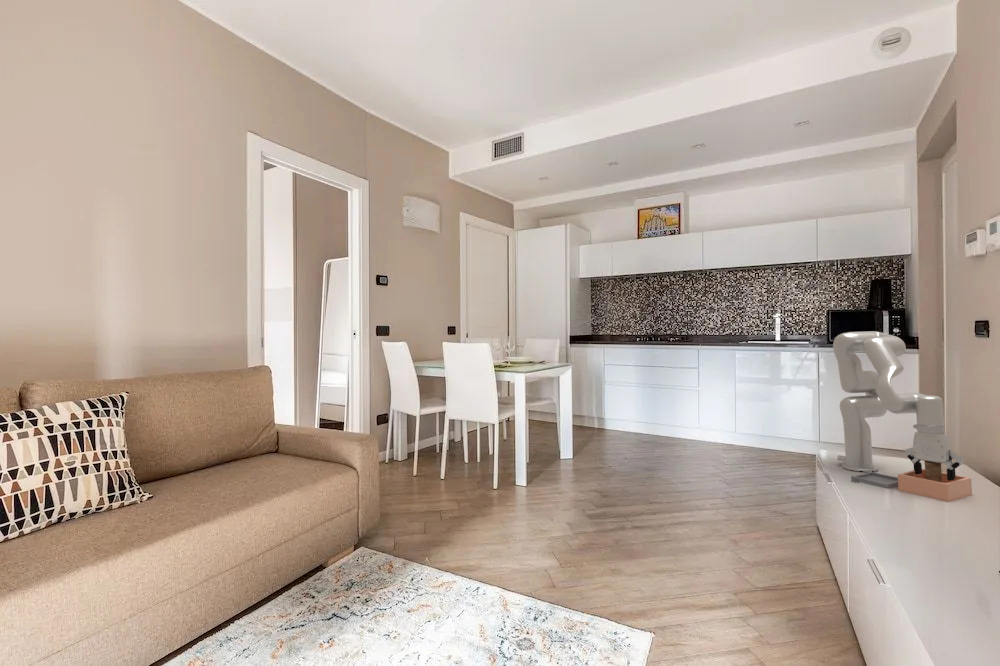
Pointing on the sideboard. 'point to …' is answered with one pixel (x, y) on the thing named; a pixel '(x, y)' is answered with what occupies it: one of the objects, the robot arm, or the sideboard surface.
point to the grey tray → (876, 479)
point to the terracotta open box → (935, 486)
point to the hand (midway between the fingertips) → (934, 476)
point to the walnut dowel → (933, 471)
